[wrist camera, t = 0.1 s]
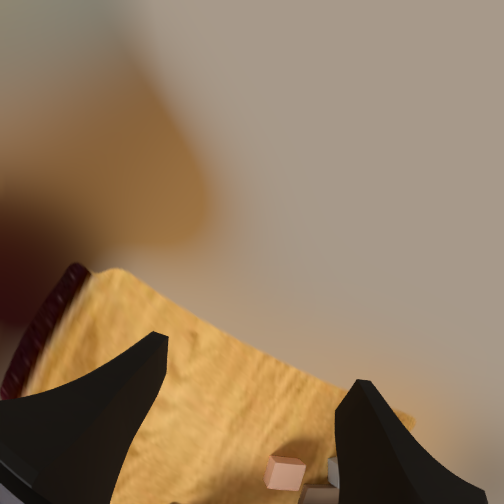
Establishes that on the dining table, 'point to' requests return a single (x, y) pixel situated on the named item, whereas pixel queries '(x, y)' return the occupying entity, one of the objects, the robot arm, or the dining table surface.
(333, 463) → the grey cube
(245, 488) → the dining table surface
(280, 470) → the terracotta cube
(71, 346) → the dining table surface
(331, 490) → the walnut slab
